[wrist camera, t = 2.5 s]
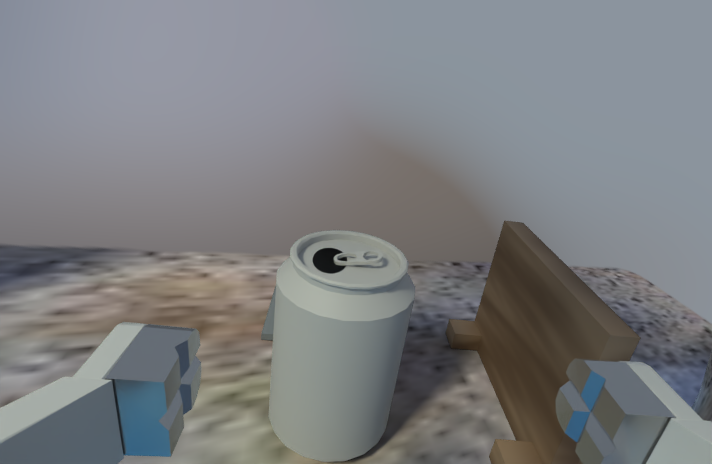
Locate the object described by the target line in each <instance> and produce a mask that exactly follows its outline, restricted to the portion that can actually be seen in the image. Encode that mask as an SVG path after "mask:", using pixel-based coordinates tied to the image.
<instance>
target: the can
mask: <svg viewBox="0 0 712 464" xmlns="http://www.w3.org/2000/svg"><path fill="white" fill-rule="evenodd" d="M407 271H408V261H407V259H406V257H405V255H404V254H403V253H402V252H401V251H400V250H399V249H398V248H396V247H395V246H394V245H392V244H391V243H389V242H387V241H385V240H383V239H381V238H378V237H375V236H372V235H368V234H364V233H359V232H354V231H340V230H331V231H320V232H316V233H312V234H308V235H306V236H304V237H302V238H301V239H299V240H297V241H296V242H295V243H294V245H293V246H292V247H291V249H290V257H289V258H288V259H287V260H285V261H284V262H283V264H282V265H281V266H280V268H279V269H278V270H277V280H276V297H275V315H274V332H273V349H272V366H271V384H270V401H269V419H270V422H271V425H272V428H273V431H274V433H275V434H276V435H277V436H278V438H279V439H280V440H281V441H282V442H283V443H284V445H285V446H286V447H288V448H289V449H291V450H293V451H294V452H296V453H298V454H300V455H301V456H303V457H306V458H310V459H314V460H318V461H322V462H334V461H347V460H349V459H352V458H355V457H358V456H360V455H363V454H365V453H366V452H367V451H368V450H370V449H371V448H372V447H373V446H375V445H376V444H377V443H378V442H379V440H380V438H381V437H382V435H383V433H384V431H385V429H386V426H387V422H388V417H389V412H390V408H391V403H392V399H393V394H394V389H395V385H396V380H397V376H398V371H399V366H400V362H401V357H402V353H403V348H404V343H405V339H406V334H407V330H408V325H409V321H410V316H411V311H412V307H413V302H414V296H415V286H414V284H413V282H412V280H411V278H410V276H409V275H408V274H407Z"/></svg>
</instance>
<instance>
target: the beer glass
mask: <svg viewBox="0 0 712 464" xmlns="http://www.w3.org/2000/svg"><path fill="white" fill-rule="evenodd" d="M691 408H692V409H693V410H694V411H695V412H696V413H697V414H698V415H699V416H700V417H701V418H702V420H704V421H711V422H712V351H711V355H710V358H709V361H708V365H707V368H706V372H705V375H704V379H703V382H702V385H701V388H700V391H699V394H698V396H697V398H696V400H695V402H694V404H693V406H692V407H691Z"/></svg>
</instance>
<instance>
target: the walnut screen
mask: <svg viewBox="0 0 712 464" xmlns="http://www.w3.org/2000/svg"><path fill="white" fill-rule="evenodd" d="M446 335H447V338H448V341H449V344H450V347H451V348H455V349H466V350H477V351H478V353H479V356H480V358H481V360H482V363H483V365H484V367H485V369H486V372H487V374H488V376H489V379H490V381H491V383H492V385H493V388H494V390H495V392H496V395H497V397H498V399H499V402H500V404H501V406H502V408H503V411H504V413H505V415H506V418H507V420H508V422H509V424H510V427H511V429H512V431H513V434H514V436H515V438H516V440H517V441H514V440H501V439H495V442H494V445H493V448H492V450H491V453H490V456H489V457H490V460H491V463H492V464H582V462H581V460H580V459H579V457H578V455H577V454H576V452H575V450H576V444H577V442H576V441H574V440H573V439H572V438H570V437H569V436H568V435H567V434H565V433H564V431H563V429H562V427H561V425H560V424H559V421H558V418H557V415H556V397H557V394H558V391H559V388H560V387H562V386H563V385H564V384H566V383H567V382H568V381H569V379H568V376H567V374H566V371H567V369H568V366H569V364H570V363H571V362H572V361H573V360H574V359H589V360H603V361H616V362H619V361H629V360H630V358H631V356H632V354H633V352H634V350H635V348H636V346H637V344H638V342H639V340H640V337H639V336H638V335H637V334H636V333H635V332H634V331H633V330H632V329H631V328H630V327H629V326H628V325H627V324H626V323H625V322H624V321H623V320H622V319H621V318H620V317H619V316H618V315H617V314H616V313H615V312H614V311H613V310H612V309H611V308H610V307H609V306H608V305H606V304H605V303H604V302H603V301H602V300H601V299H600V298H599V297H598V296H597V295H596V294H595V293H594V292H593V291H592V290H591V289H590V288H589V287H588V286H587V285H586V284H585V283H584V282H583V281H582V280H581V279H580V278H579V277H578V276H577V275H576V274H575V273H574V272H573V271H572V270H571V269H570V268H569V267H568V266H567V265H566V264H565V263H564V262H563V261H562V260H560V259H559V258H558V257H557V256H556V255H555V254H554V253H553V252H552V251H551V250H550V249H549V248H548V247H547V246H546V245H545V244H544V243H543V242H542V241H541V240H540V239H539V238H538V237H537V236H536V235H535V234H534V233H533V232H532V231H531V230H530V229H529V228H528V227H527V226H526V225H525V224H524V223H520V222H511V221H504V224H503V227H502V231H501V234H500V237H499V241H498V244H497V248H496V252H495V254H494V258H493V261H492V264H491V268H490V271H489V275H488V278H487V281H486V285H485V288H484V292H483V295H482V298H481V302H480V305H479V309H478V312H477V315H476V319H475V321H465V320H455V319H449V323H448V326H447V330H446Z"/></svg>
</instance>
